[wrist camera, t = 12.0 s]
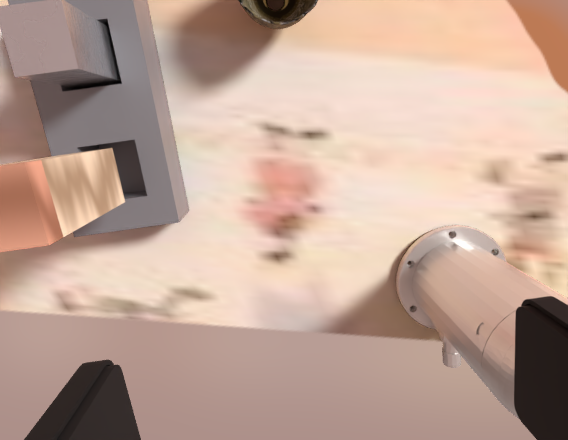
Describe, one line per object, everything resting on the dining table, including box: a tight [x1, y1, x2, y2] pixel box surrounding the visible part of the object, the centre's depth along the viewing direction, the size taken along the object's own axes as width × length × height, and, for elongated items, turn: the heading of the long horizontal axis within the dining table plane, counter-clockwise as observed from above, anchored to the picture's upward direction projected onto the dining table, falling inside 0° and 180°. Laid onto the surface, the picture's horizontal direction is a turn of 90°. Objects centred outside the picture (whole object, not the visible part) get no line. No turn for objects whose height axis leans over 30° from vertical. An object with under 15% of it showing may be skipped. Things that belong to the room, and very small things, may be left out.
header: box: [8, 0, 189, 237], centre depth 37 cm, size 21×10×5 cm, turn 8°
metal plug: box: [0, 0, 122, 89], centre depth 32 cm, size 4×4×12 cm
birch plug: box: [0, 148, 125, 252], centre depth 26 cm, size 4×4×12 cm
